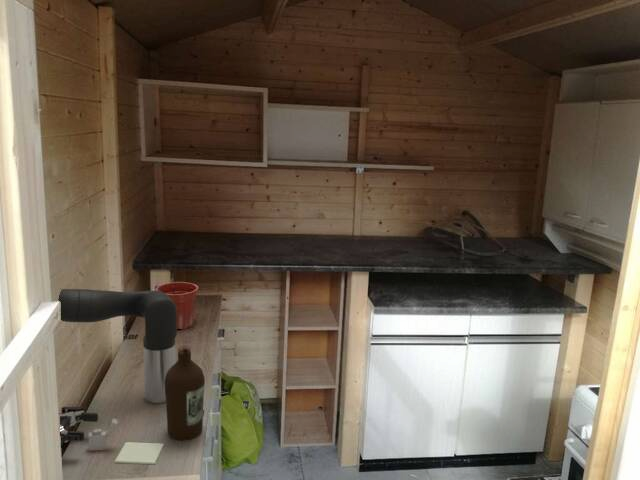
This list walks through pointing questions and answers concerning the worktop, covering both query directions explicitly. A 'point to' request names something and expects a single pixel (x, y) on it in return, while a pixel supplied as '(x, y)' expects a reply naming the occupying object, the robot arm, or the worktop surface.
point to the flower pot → (181, 301)
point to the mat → (139, 453)
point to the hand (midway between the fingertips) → (90, 426)
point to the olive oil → (184, 397)
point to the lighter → (100, 437)
